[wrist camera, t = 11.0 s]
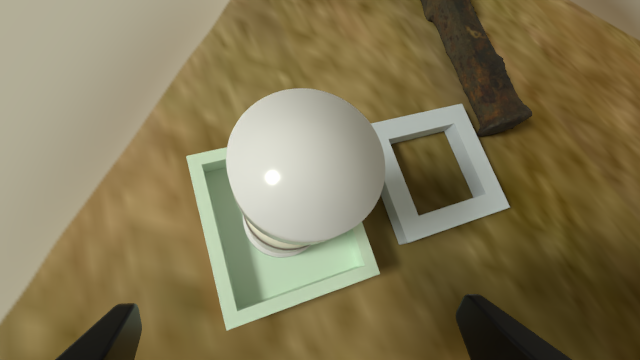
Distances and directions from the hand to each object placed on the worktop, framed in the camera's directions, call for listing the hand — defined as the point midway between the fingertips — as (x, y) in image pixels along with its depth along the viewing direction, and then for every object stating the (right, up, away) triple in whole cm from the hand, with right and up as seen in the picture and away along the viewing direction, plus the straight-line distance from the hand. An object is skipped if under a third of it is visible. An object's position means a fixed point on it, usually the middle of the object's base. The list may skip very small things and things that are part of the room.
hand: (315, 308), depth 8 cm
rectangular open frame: (+9, +4, +18) cm, 20 cm away
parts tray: (-3, +1, +14) cm, 14 cm away
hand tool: (+13, +16, +22) cm, 30 cm away
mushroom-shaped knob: (-3, +1, +13) cm, 14 cm away
